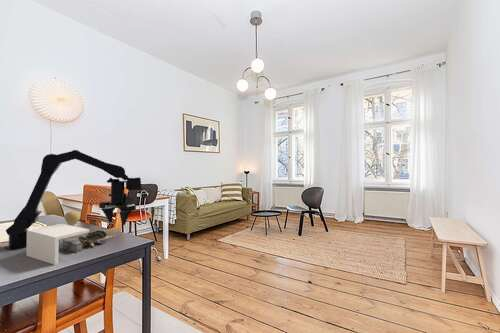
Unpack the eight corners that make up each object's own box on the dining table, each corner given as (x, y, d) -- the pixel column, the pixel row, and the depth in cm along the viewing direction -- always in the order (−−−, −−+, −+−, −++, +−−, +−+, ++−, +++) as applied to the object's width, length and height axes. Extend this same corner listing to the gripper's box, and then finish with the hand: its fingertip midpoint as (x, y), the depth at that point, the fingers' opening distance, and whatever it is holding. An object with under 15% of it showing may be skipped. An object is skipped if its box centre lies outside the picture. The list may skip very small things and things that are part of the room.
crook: (62, 248, 99) (62, 239, 99) (117, 233, 121) (117, 226, 121) (76, 253, 95) (76, 244, 95) (131, 237, 116) (131, 229, 116)
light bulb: (71, 232, 120) (72, 212, 120) (61, 231, 121) (61, 211, 121) (83, 229, 126) (83, 210, 126) (72, 228, 128) (73, 209, 128)
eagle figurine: (88, 249, 96) (110, 238, 104) (80, 233, 97) (102, 224, 105) (80, 255, 100) (102, 245, 108) (72, 240, 100) (94, 231, 108)
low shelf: (26, 255, 91) (26, 230, 91) (60, 246, 101) (61, 223, 101) (54, 264, 83) (55, 237, 83) (88, 253, 94) (89, 229, 94)
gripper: (145, 191, 121) (144, 222, 122) (119, 189, 129) (118, 218, 129) (125, 193, 111) (125, 227, 111) (98, 190, 119) (98, 222, 119)
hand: (117, 223), depth 118 cm, fingers open, 9 cm apart
